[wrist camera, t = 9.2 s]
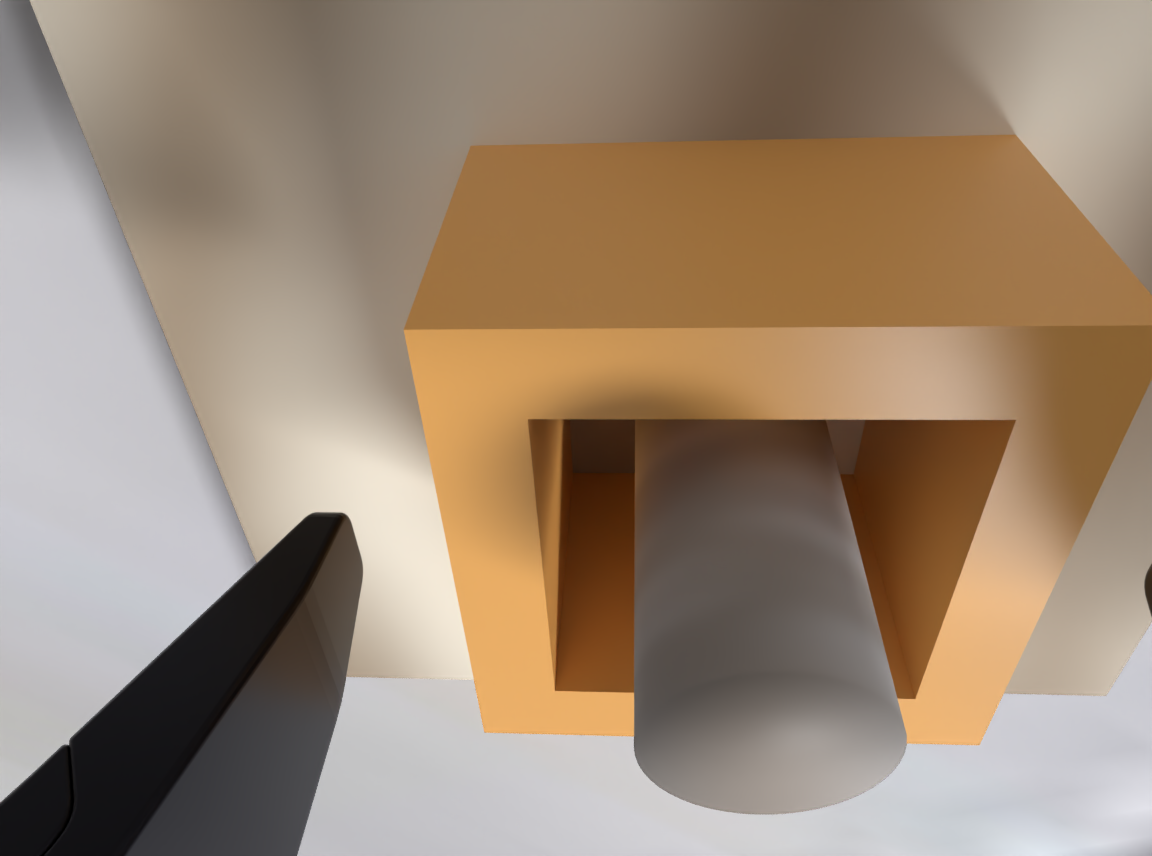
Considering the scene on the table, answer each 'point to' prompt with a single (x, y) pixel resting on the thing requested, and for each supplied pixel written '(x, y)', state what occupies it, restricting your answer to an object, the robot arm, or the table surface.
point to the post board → (642, 446)
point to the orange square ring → (771, 389)
